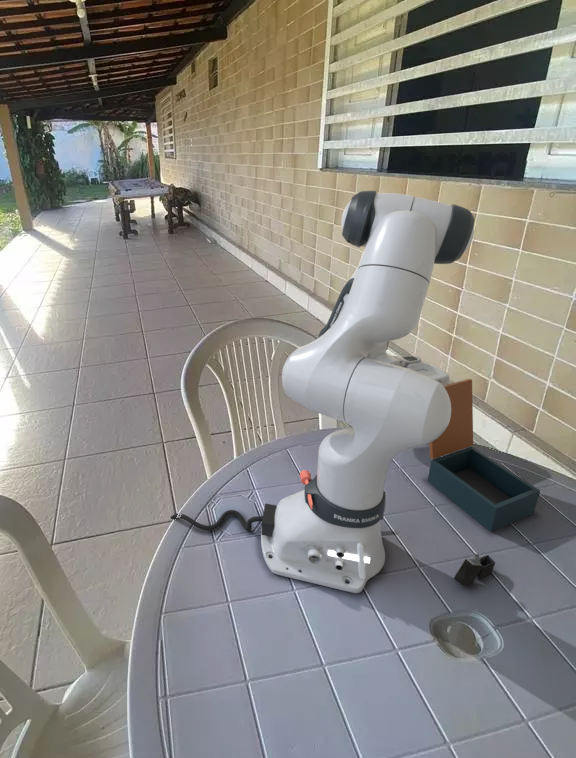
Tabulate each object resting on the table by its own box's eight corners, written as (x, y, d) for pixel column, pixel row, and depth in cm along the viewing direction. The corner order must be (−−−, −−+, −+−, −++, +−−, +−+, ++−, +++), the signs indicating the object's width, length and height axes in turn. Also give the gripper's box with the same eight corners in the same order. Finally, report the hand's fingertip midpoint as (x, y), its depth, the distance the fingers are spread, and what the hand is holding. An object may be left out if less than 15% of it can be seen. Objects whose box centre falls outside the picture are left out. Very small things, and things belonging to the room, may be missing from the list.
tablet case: (533, 513, 84) (540, 490, 81) (490, 531, 80) (496, 508, 78) (466, 467, 97) (471, 446, 94) (427, 481, 93) (431, 460, 91)
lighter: (471, 576, 75) (486, 552, 74) (483, 586, 73) (498, 561, 72) (449, 575, 71) (465, 549, 70) (461, 585, 69) (477, 558, 68)
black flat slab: (519, 506, 84) (520, 503, 84) (489, 519, 82) (490, 516, 82) (468, 471, 94) (469, 468, 94) (440, 481, 92) (440, 478, 92)
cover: (472, 379, 91) (468, 378, 92) (430, 391, 88) (427, 390, 89) (473, 445, 94) (470, 443, 95) (432, 459, 91) (429, 457, 91)
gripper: (356, 371, 103) (399, 399, 90) (421, 354, 109) (471, 378, 96) (354, 393, 105) (396, 423, 93) (418, 376, 111) (466, 402, 99)
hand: (435, 400), depth 95 cm, fingers closed
